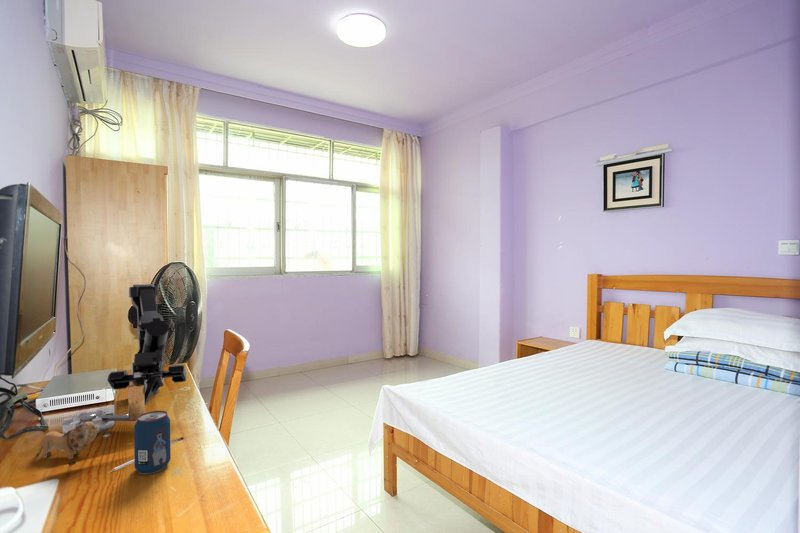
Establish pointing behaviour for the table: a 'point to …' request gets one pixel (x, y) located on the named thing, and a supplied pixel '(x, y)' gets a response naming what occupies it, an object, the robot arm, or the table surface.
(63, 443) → the lion figurine
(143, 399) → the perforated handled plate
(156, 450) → the soda can
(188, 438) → the table surface
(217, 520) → the table surface
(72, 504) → the table surface
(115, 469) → the pencil
